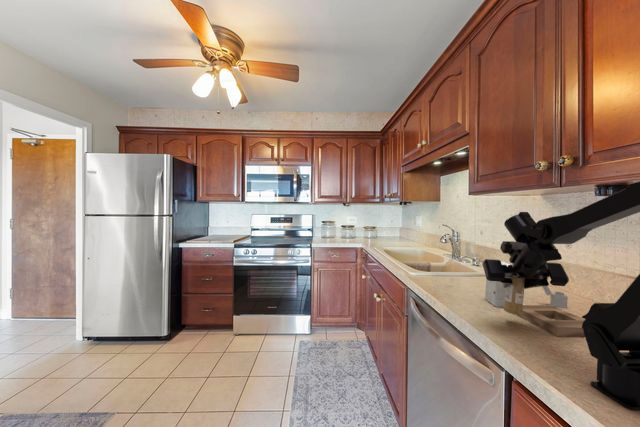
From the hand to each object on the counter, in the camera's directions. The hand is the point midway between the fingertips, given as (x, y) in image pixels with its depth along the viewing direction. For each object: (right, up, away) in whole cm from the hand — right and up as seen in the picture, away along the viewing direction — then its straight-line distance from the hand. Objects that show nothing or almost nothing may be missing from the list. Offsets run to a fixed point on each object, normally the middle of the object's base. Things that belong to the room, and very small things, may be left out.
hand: (512, 286), depth 78 cm
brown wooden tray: (+12, -11, -1) cm, 16 cm away
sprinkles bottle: (-1, -7, -1) cm, 8 cm away
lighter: (+24, -11, +13) cm, 30 cm away
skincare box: (+6, -10, +15) cm, 19 cm away
